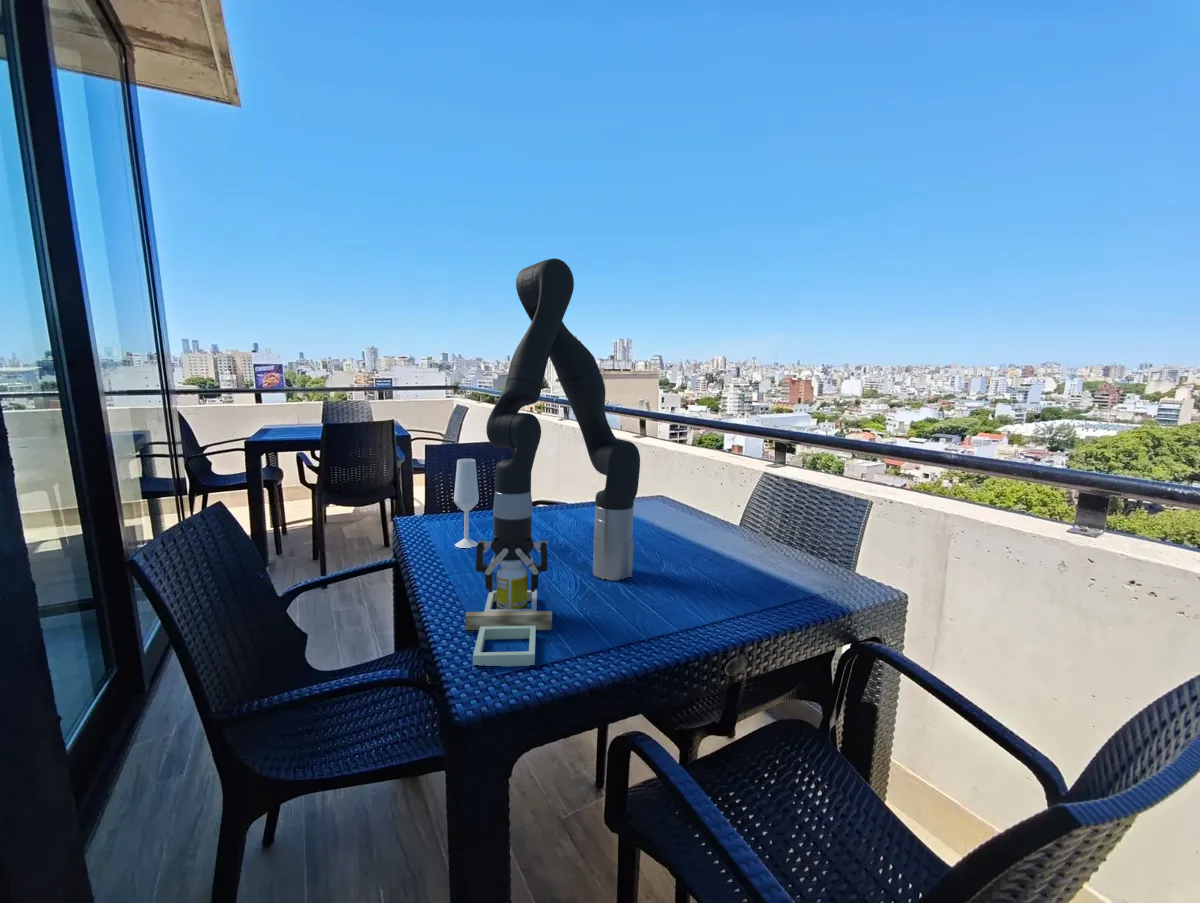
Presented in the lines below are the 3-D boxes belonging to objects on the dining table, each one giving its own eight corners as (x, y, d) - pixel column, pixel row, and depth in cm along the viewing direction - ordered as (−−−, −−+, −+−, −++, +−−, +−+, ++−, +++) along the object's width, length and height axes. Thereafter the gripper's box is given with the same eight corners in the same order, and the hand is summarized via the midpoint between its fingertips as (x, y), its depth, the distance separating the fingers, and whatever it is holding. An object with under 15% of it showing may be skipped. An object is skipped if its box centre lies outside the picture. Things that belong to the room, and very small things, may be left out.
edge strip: (551, 625, 100) (551, 610, 99) (551, 629, 98) (552, 614, 98) (466, 627, 98) (466, 612, 97) (465, 631, 96) (465, 616, 96)
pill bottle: (528, 603, 109) (529, 553, 107) (525, 617, 103) (526, 563, 101) (498, 602, 109) (499, 552, 107) (493, 616, 103) (494, 562, 101)
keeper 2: (535, 635, 96) (535, 625, 95) (534, 665, 86) (534, 654, 85) (480, 636, 94) (480, 626, 94) (472, 667, 85) (472, 655, 84)
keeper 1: (536, 598, 111) (537, 590, 111) (536, 620, 101) (536, 610, 101) (489, 599, 110) (489, 590, 110) (484, 621, 100) (484, 611, 100)
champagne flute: (472, 550, 141) (472, 462, 137) (449, 547, 142) (449, 461, 139) (482, 542, 147) (483, 459, 144) (460, 540, 148) (460, 457, 145)
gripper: (548, 508, 107) (547, 583, 110) (478, 507, 106) (478, 583, 108) (549, 518, 100) (547, 598, 102) (473, 517, 98) (473, 599, 101)
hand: (511, 590), depth 105 cm, fingers open, 8 cm apart
